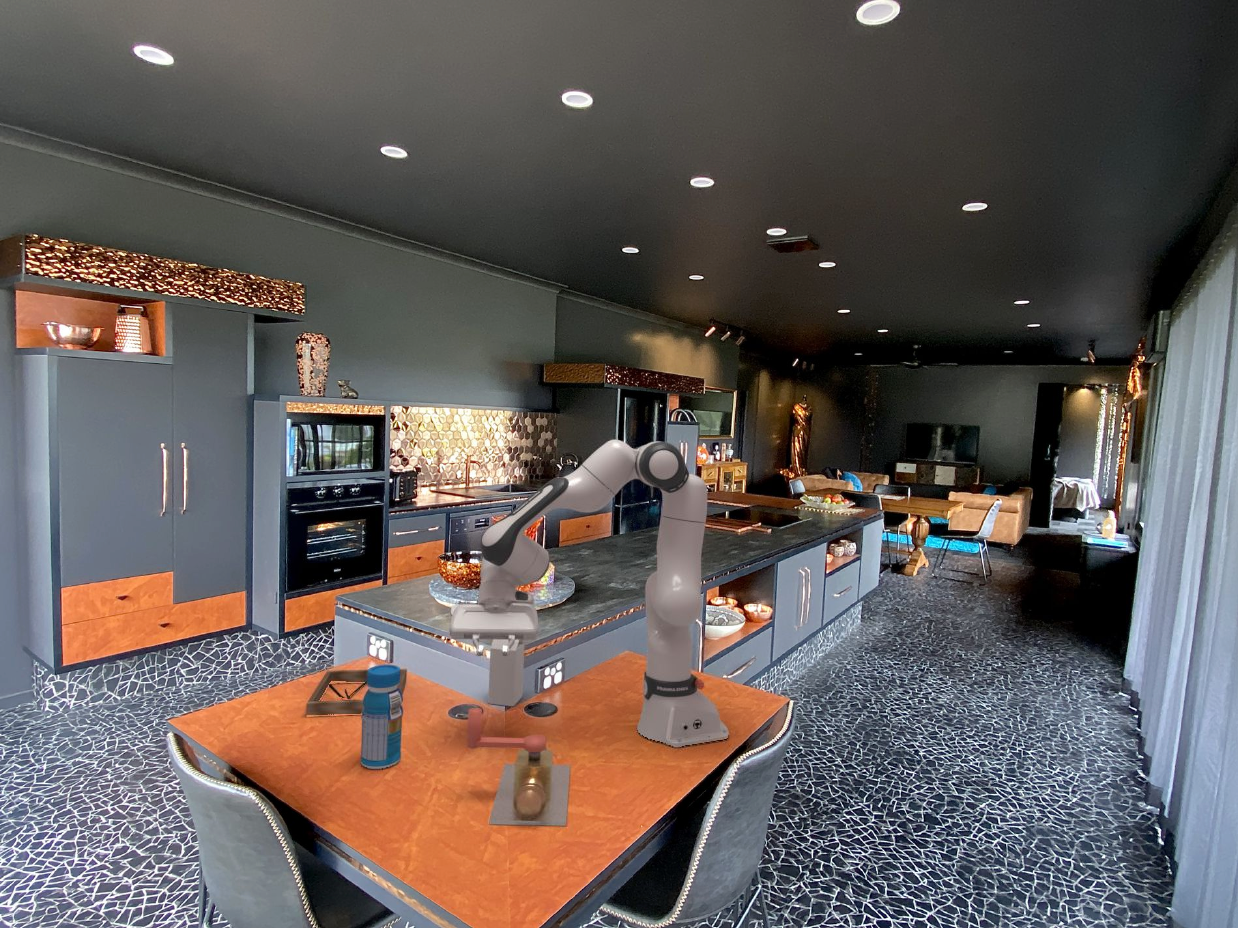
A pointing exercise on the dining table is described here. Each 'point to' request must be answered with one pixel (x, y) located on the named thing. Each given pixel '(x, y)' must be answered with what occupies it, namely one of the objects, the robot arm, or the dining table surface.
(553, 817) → the valve body
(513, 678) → the milk carton
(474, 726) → the lever
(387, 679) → the beverage bottle
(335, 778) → the dining table surface
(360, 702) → the glasses tray
